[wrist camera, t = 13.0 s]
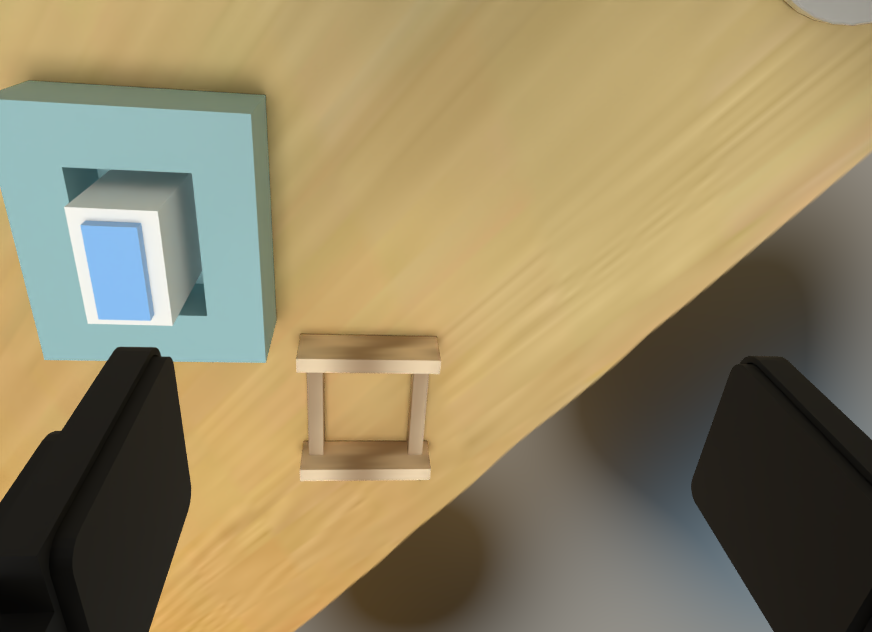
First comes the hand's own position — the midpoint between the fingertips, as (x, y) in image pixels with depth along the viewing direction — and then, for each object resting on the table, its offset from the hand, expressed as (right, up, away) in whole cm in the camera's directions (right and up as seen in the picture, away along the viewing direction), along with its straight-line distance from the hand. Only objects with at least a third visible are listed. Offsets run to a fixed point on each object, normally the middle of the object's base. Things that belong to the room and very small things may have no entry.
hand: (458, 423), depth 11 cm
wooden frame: (-5, -4, +34) cm, 35 cm away
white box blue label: (-16, +7, +26) cm, 31 cm away
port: (-16, +8, +26) cm, 32 cm away
